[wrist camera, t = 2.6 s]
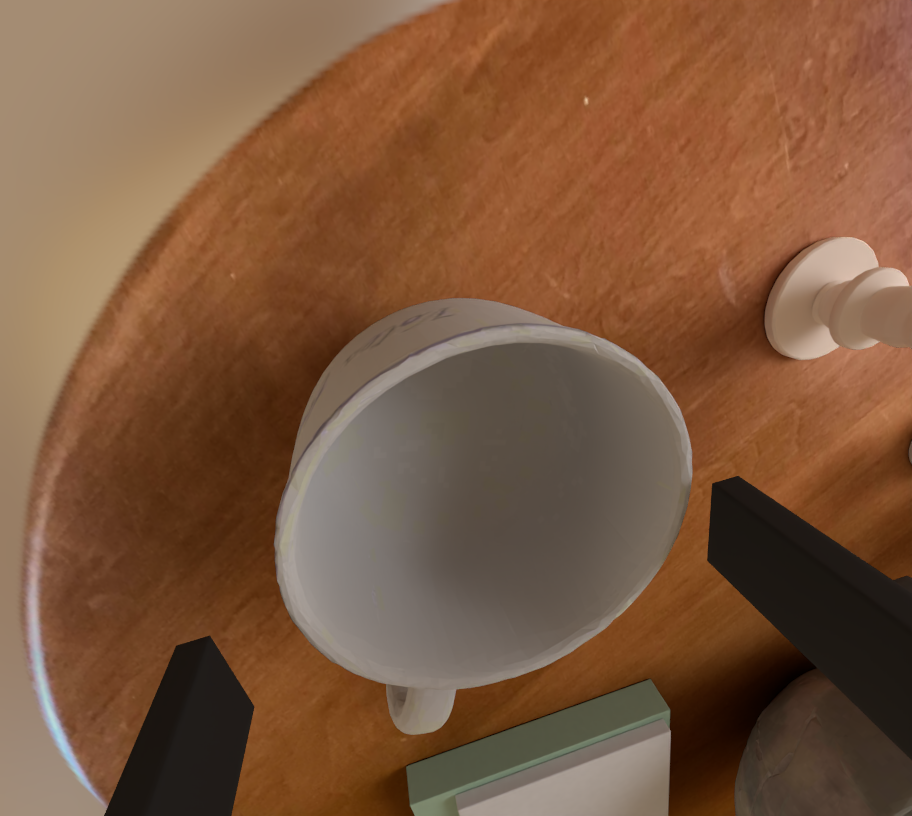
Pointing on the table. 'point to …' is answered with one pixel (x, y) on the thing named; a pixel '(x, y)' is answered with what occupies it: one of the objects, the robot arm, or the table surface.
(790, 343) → the candle
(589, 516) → the teacup
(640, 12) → the table surface
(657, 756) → the scale
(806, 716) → the bowl
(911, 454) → the chess piece
